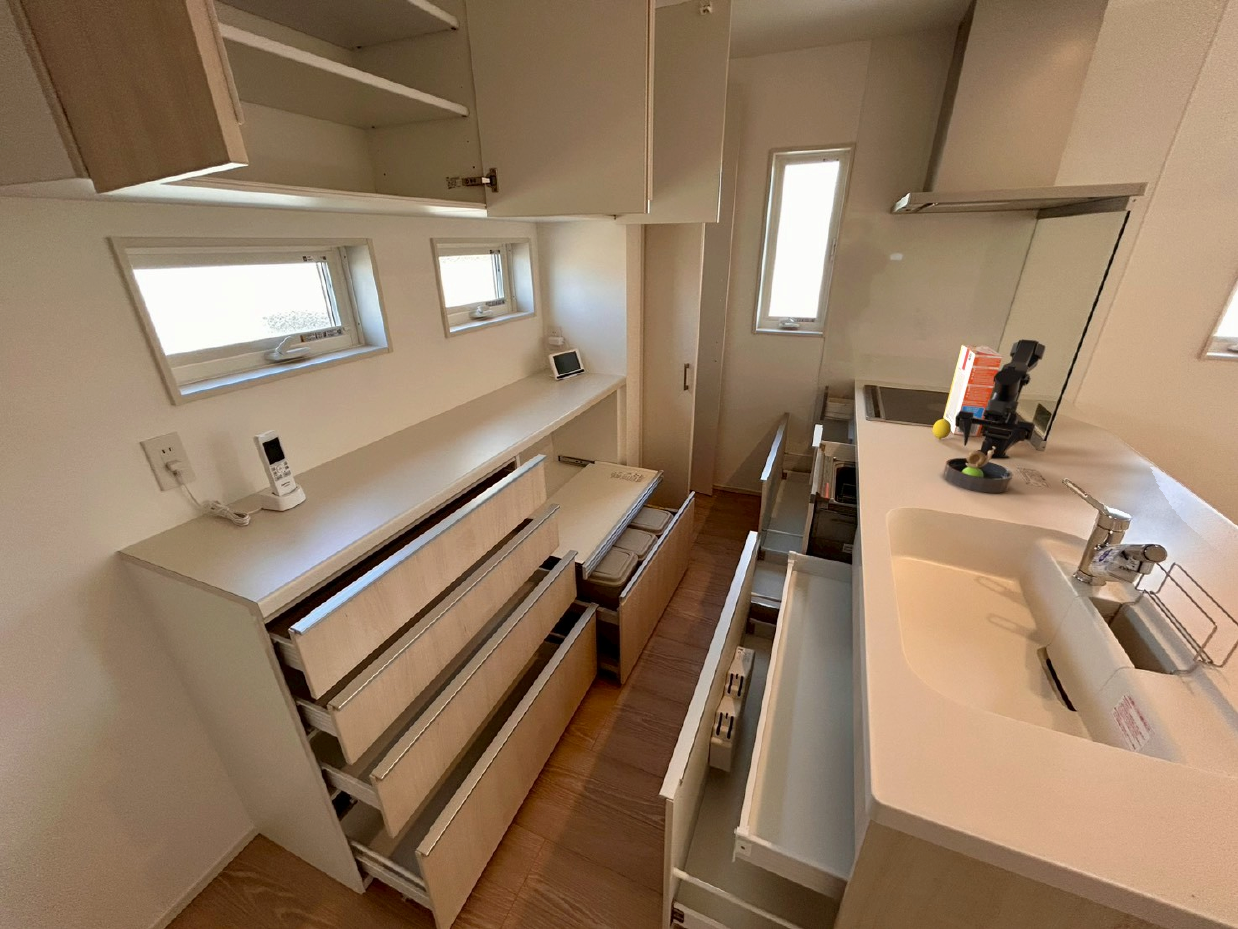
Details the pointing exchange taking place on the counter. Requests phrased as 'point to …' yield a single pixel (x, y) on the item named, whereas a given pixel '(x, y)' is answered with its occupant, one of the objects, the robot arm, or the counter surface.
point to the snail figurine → (977, 462)
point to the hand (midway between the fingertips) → (983, 448)
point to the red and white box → (972, 384)
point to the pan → (991, 482)
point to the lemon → (941, 428)
